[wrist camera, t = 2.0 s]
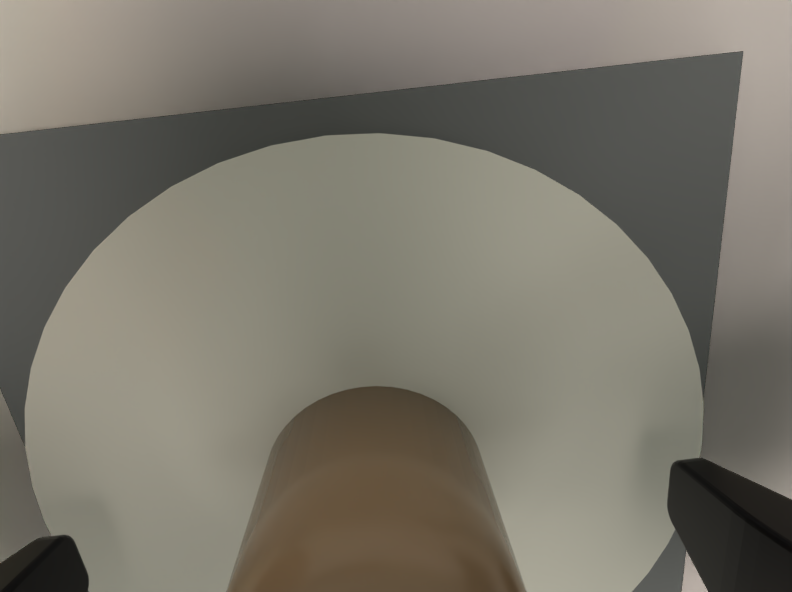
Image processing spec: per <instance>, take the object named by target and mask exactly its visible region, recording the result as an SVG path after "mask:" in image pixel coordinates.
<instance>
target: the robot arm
mask: <svg viewBox="0 0 792 592" xmlns="http://www.w3.org/2000/svg"><path fill="white" fill-rule="evenodd" d="M667 510H668V514H669V517H670V520H671V522H672V524H673V526H674V528H675V530H676V532H677V533H678V535H679V537H680V539H681V541H682V543H683V545H684V547H685V549H686V550H687V552H688V554H689V556H690V558H691V560H692V562H693V564H694V566H695V567H696V569H697V571H698V573H699V575H700V577H701V579H702V581H703V583H704V584H705V586H706V588H707V590H708V592H792V500H791V499H789V498H787V497H785V496H783V495H781V494H778V493H776V492H774V491H772V490H770V489H768V488H766V487H764V486H761V485H759V484H757V483H755V482H753V481H751V480H749V479H746V478H744V477H742V476H740V475H738V474H736V473H734V472H732V471H729V470H727V469H725V468H723V467H721V466H719V465H717V464H715V463H712V462H710V461H708V460H706V459H703V458H692V459H683V460H677V461H675V462H673V463H672V465H671V468H670V476H669V487H668V497H667ZM88 587H89V575H88V572H87V570H86V567H85V565H84V562H83V560H82V558H81V555H80V553H79V550H78V548H77V546H76V543H75V541H74V539H73V538H72V537H70V536H69V535H55V536H47V537H42V538H38V539H36V540H34V541H33V542H31V543H30V544H28V545H27V546H25V547H24V548H22V549H21V550H19V551H18V552H16V553H15V554H13V555H12V556H10V557H9V558H8V559H6V560H5V561H3V562H2V563H0V592H88Z"/></svg>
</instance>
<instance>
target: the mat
mask: <svg viewBox="0 0 792 592" xmlns="http://www.w3.org/2000/svg"><path fill="white" fill-rule="evenodd" d="M742 57H743V51H740V52H731V53H722V54H713V55H704V56H695V57H686V58H677V59H669V60H660V61H651V62H642V63H633V64H624V65H615V66H606V67H597V68H588V69H579V70H570V71H562V72H553V73H544V74H535V75H526V76H517V77H508V78H499V79H490V80H481V81H472V82H464V83H455V84H446V85H437V86H428V87H419V88H410V89H401V90H392V91H383V92H374V93H366V94H357V95H348V96H339V97H330V98H321V99H312V100H303V101H294V102H285V103H276V104H268V105H259V106H250V107H241V108H232V109H223V110H214V111H205V112H196V113H187V114H178V115H169V116H161V117H152V118H143V119H134V120H125V121H116V122H107V123H98V124H89V125H80V126H71V127H63V128H54V129H45V130H36V131H27V132H18V133H9V134H0V389H1V391H2V394H3V396H4V398H5V401H6V403H7V405H8V408H9V410H10V412H11V415H12V417H13V420H14V422H15V424H16V427H17V429H18V431H19V434H20V436H21V438H22V441H23V443H24V446H25V403H26V397H27V390H28V384H29V377H30V370H31V366H32V363H33V360H34V357H35V354H36V351H37V348H38V345H39V342H40V339H41V336H42V333H43V330H44V327H45V325H46V323H47V321H48V319H49V317H50V316H51V314H52V312H53V310H54V308H55V306H56V304H57V302H58V300H59V298H60V297H61V295H62V293H63V291H64V289H65V287H66V286H67V285H68V283H69V282H70V281H71V279H72V278H73V277H74V275H75V274H76V273H77V271H78V270H79V269H80V267H81V266H82V265H83V263H84V262H85V261H86V259H87V258H88V257H89V256H90V254H91V253H92V252H93V250H94V249H95V248H96V247H97V246H98V245H99V244H101V243H102V242H103V241H104V240H105V239H106V238H107V237H108V236H109V235H110V234H111V233H112V232H113V231H114V230H115V229H116V228H117V227H118V226H119V225H120V224H121V223H122V222H123V221H124V220H126V219H127V218H128V217H129V216H130V215H131V214H133V213H134V212H136V211H137V210H139V209H140V208H141V207H143V206H144V205H146V204H147V203H148V202H150V201H151V200H153V199H154V198H156V197H157V196H158V195H160V194H161V193H163V192H164V191H166V190H167V189H168V188H170V187H171V186H173V185H175V184H177V183H179V182H181V181H183V180H185V179H187V178H189V177H191V176H193V175H195V174H197V173H199V172H201V171H203V170H205V169H207V168H209V167H211V166H213V165H215V164H217V163H220V162H223V161H226V160H229V159H232V158H235V157H238V156H241V155H244V154H247V153H250V152H253V151H256V150H259V149H262V148H265V147H268V146H271V145H277V144H282V143H287V142H293V141H298V140H304V139H309V138H315V137H320V136H326V135H346V134H369V133H384V134H395V135H405V136H416V137H426V138H435V139H439V140H444V141H448V142H452V143H456V144H460V145H465V146H469V147H473V148H477V149H481V150H486V151H489V152H491V153H494V154H496V155H499V156H502V157H504V158H507V159H509V160H512V161H514V162H517V163H519V164H522V165H524V166H527V167H529V168H532V169H535V170H537V171H538V172H540V173H542V174H544V175H545V176H547V177H549V178H551V179H552V180H554V181H556V182H558V183H559V184H561V185H563V186H565V187H566V188H568V189H570V190H572V191H573V192H575V193H577V194H579V195H580V196H581V197H583V198H584V199H585V200H586V201H588V202H589V203H590V204H591V205H593V206H594V207H595V208H597V209H598V210H599V211H600V212H602V213H603V214H604V215H605V216H607V217H608V218H609V219H610V220H612V221H613V222H614V223H615V224H617V225H618V226H619V227H620V229H621V230H622V231H623V232H624V233H625V234H626V235H627V236H628V237H629V238H630V239H631V240H632V241H633V243H634V244H635V245H636V246H637V247H638V248H639V249H640V250H641V251H642V252H643V253H644V254H645V255H646V257H647V258H648V259H649V261H650V262H651V264H652V265H653V266H654V268H655V269H656V271H657V272H658V274H659V275H660V277H661V278H662V280H663V281H664V283H665V284H666V286H667V287H668V289H669V290H670V292H671V293H672V295H673V298H674V300H675V302H676V304H677V306H678V308H679V310H680V313H681V315H682V317H683V319H684V321H685V323H686V326H687V328H688V330H689V333H690V337H691V340H692V344H693V347H694V351H695V355H696V358H697V362H698V365H699V369H700V378H701V387H702V395H703V398H704V389H705V381H706V372H707V363H708V354H709V346H710V337H711V328H712V320H713V311H714V302H715V293H716V285H717V276H718V267H719V258H720V250H721V241H722V232H723V223H724V215H725V206H726V197H727V188H728V180H729V171H730V162H731V154H732V145H733V136H734V127H735V119H736V110H737V101H738V92H739V84H740V75H741V66H742ZM685 555H686V549H685V547H684V545H683V543H682V541H681V539H680V537H679V535H678V533H677V532H676V530H675V531H674V533H673V535H672V537H671V539H670V541H669V543H668V545H667V546H666V547H665V549H664V550H663V552H662V553H661V555H660V556H659V558H658V559H657V561H656V562H655V564H654V565H653V567H652V568H651V570H650V571H649V573H648V574H647V575H646V576H645V577H644V578H643V580H642V581H641V582H640V583H639V584H638V585H637V587H636V588H635V589H634V590H633V591H632V592H681V590H682V582H683V573H684V564H685ZM88 592H89V591H88Z"/></svg>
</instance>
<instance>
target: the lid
mask: <svg viewBox="0 0 792 592" xmlns="http://www.w3.org/2000/svg"><path fill="white" fill-rule="evenodd" d="M703 413H704V404H703V395H702V387H701V378H700V369H699V365H698V362H697V358H696V355H695V351H694V347H693V344H692V340H691V337H690V333H689V330H688V328H687V326H686V323H685V321H684V319H683V317H682V315H681V313H680V310H679V308H678V306H677V304H676V302H675V300H674V298H673V295H672V293H671V292H670V290H669V289H668V287H667V286H666V284H665V283H664V281H663V280H662V278H661V277H660V275H659V274H658V272H657V271H656V269H655V268H654V266H653V265H652V264H651V262H650V261H649V259H648V258H647V257H646V255H645V254H644V253H643V252H642V251H641V250H640V249H639V248H638V247H637V246H636V245H635V244H634V243H633V241H632V240H631V239H630V238H629V237H628V236H627V235H626V234H625V233H624V232H623V231H622V230H621V229H620V227H619V226H618V225H617V224H615V223H614V222H613V221H612V220H610V219H609V218H608V217H607V216H605V215H604V214H603V213H602V212H600V211H599V210H598V209H597V208H595V207H594V206H593V205H591V204H590V203H589V202H588V201H586V200H585V199H584V198H583V197H581V196H580V195H579V194H577V193H575V192H573V191H572V190H570V189H568V188H566V187H565V186H563V185H561V184H559V183H558V182H556V181H554V180H552V179H551V178H549V177H547V176H545V175H544V174H542V173H540V172H538V171H537V170H535V169H532V168H529V167H527V166H524V165H522V164H519V163H517V162H514V161H512V160H509V159H507V158H504V157H502V156H499V155H496V154H494V153H491V152H489V151H486V150H481V149H477V148H473V147H469V146H465V145H460V144H456V143H452V142H448V141H444V140H439V139H435V138H426V137H416V136H405V135H395V134H384V133H369V134H346V135H326V136H320V137H315V138H309V139H304V140H298V141H293V142H287V143H282V144H277V145H271V146H268V147H265V148H262V149H259V150H256V151H253V152H250V153H247V154H244V155H241V156H238V157H235V158H232V159H229V160H226V161H223V162H220V163H217V164H215V165H213V166H211V167H209V168H207V169H205V170H203V171H201V172H199V173H197V174H195V175H193V176H191V177H189V178H187V179H185V180H183V181H181V182H179V183H177V184H175V185H173V186H171V187H170V188H168V189H167V190H166V191H164V192H163V193H161V194H160V195H158V196H157V197H156V198H154V199H153V200H151V201H150V202H148V203H147V204H146V205H144V206H143V207H141V208H140V209H139V210H137V211H136V212H134V213H133V214H131V215H130V216H129V217H128V218H127V219H126V220H124V221H123V222H122V223H121V224H120V225H119V226H118V227H117V228H116V229H115V230H114V231H113V232H112V233H111V234H110V235H109V236H108V237H107V238H106V239H105V240H104V241H103V242H102V243H101V244H99V245H98V246H97V247H96V248H95V249H94V250H93V252H92V253H91V254H90V256H89V257H88V258H87V259H86V261H85V262H84V263H83V265H82V266H81V267H80V269H79V270H78V271H77V273H76V274H75V275H74V277H73V278H72V279H71V281H70V282H69V283H68V285H67V286H66V287H65V289H64V291H63V293H62V295H61V297H60V298H59V300H58V302H57V304H56V306H55V308H54V310H53V312H52V314H51V316H50V317H49V319H48V321H47V323H46V325H45V327H44V330H43V333H42V336H41V339H40V342H39V345H38V348H37V351H36V354H35V357H34V360H33V363H32V366H31V370H30V377H29V384H28V390H27V397H26V403H25V449H26V455H27V460H28V466H29V472H30V477H31V483H32V487H33V490H34V493H35V496H36V499H37V502H38V505H39V508H40V511H41V514H42V516H43V519H44V522H45V524H46V526H47V528H48V530H49V532H50V534H51V536H55V535H69V536H70V537H72V538H73V539H74V541H75V543H76V546H77V548H78V550H79V553H80V555H81V558H82V560H83V562H84V565H85V567H86V570H87V572H88V575H89V587H88V591H89V592H632V591H633V590H634V589H635V588H636V587H637V585H638V584H639V583H640V582H641V581H642V580H643V578H644V577H645V576H646V575H647V574H648V573H649V571H650V570H651V568H652V567H653V565H654V564H655V562H656V561H657V559H658V558H659V556H660V555H661V553H662V552H663V550H664V549H665V547H666V546H667V545H668V543H669V541H670V539H671V537H672V535H673V533H674V531H675V528H674V526H673V524H672V522H671V520H670V517H669V514H668V510H667V497H668V487H669V476H670V468H671V465H672V463H673V462H675V461H677V460H683V459H692V458H700V452H701V447H702V438H703Z"/></svg>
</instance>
